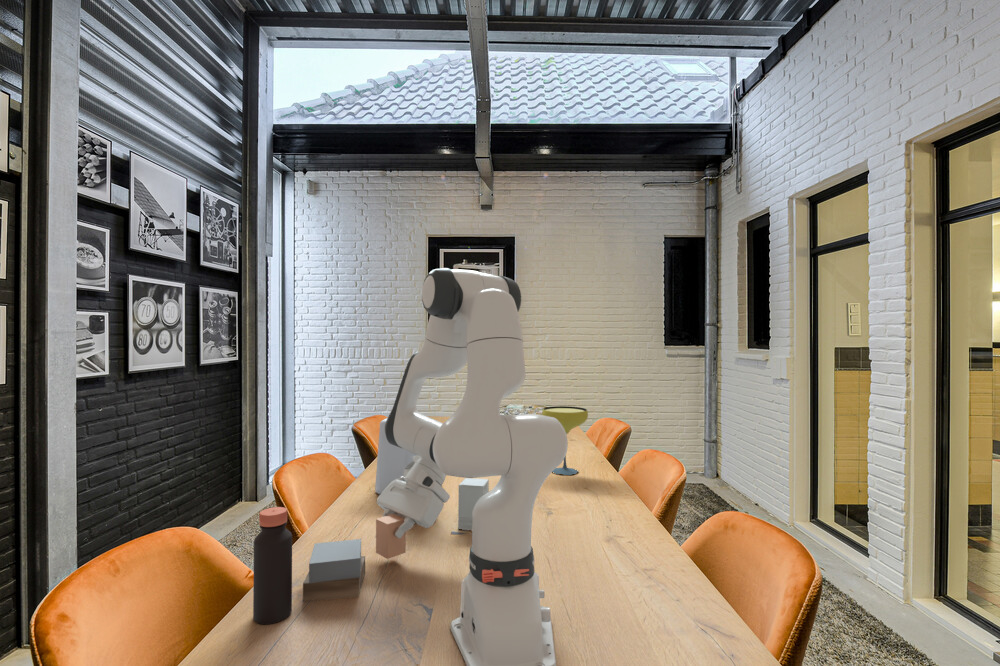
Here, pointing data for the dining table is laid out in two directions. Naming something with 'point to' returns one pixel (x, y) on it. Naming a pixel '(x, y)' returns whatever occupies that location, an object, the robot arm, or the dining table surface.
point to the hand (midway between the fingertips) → (388, 532)
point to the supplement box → (469, 499)
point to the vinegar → (272, 568)
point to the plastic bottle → (389, 461)
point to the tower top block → (335, 561)
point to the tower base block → (334, 587)
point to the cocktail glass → (566, 426)
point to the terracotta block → (389, 536)
